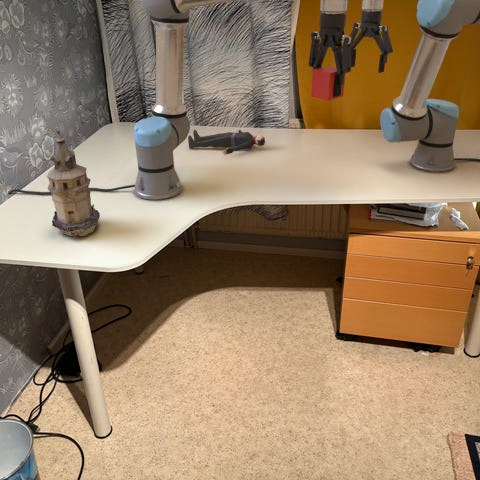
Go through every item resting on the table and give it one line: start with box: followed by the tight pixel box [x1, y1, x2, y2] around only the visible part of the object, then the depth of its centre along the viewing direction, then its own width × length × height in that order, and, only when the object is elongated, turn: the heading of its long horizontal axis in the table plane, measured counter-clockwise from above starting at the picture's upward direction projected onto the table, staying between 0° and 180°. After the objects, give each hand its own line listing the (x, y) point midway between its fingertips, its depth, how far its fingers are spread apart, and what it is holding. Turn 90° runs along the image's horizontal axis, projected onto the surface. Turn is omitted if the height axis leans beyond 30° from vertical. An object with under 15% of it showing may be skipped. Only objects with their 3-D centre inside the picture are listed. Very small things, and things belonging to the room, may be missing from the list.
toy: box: [187, 129, 266, 156], centre depth 213 cm, size 26×6×30 cm
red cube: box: [310, 65, 346, 101], centre depth 162 cm, size 7×7×8 cm
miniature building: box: [46, 129, 101, 237], centre depth 148 cm, size 13×14×30 cm
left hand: (327, 93), depth 163 cm, fingers closed on red cube, 7 cm apart
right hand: (366, 69), depth 207 cm, fingers open, 13 cm apart
